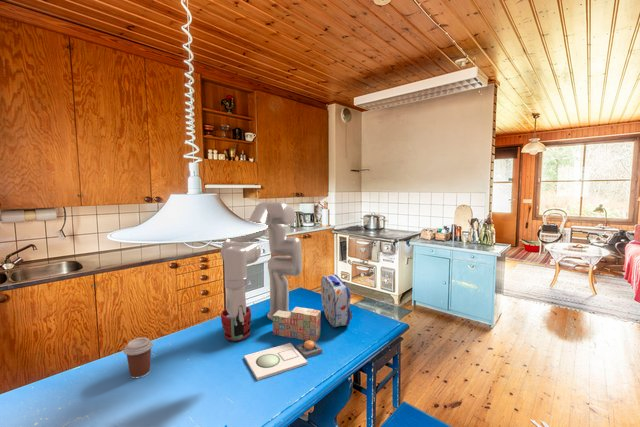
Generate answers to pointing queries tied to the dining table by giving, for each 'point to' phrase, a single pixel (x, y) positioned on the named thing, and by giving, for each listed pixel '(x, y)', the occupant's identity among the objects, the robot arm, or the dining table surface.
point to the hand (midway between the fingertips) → (237, 331)
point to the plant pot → (227, 324)
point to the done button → (309, 345)
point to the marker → (233, 329)
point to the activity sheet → (274, 361)
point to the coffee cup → (138, 356)
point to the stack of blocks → (298, 323)
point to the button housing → (309, 353)
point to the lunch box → (335, 300)
